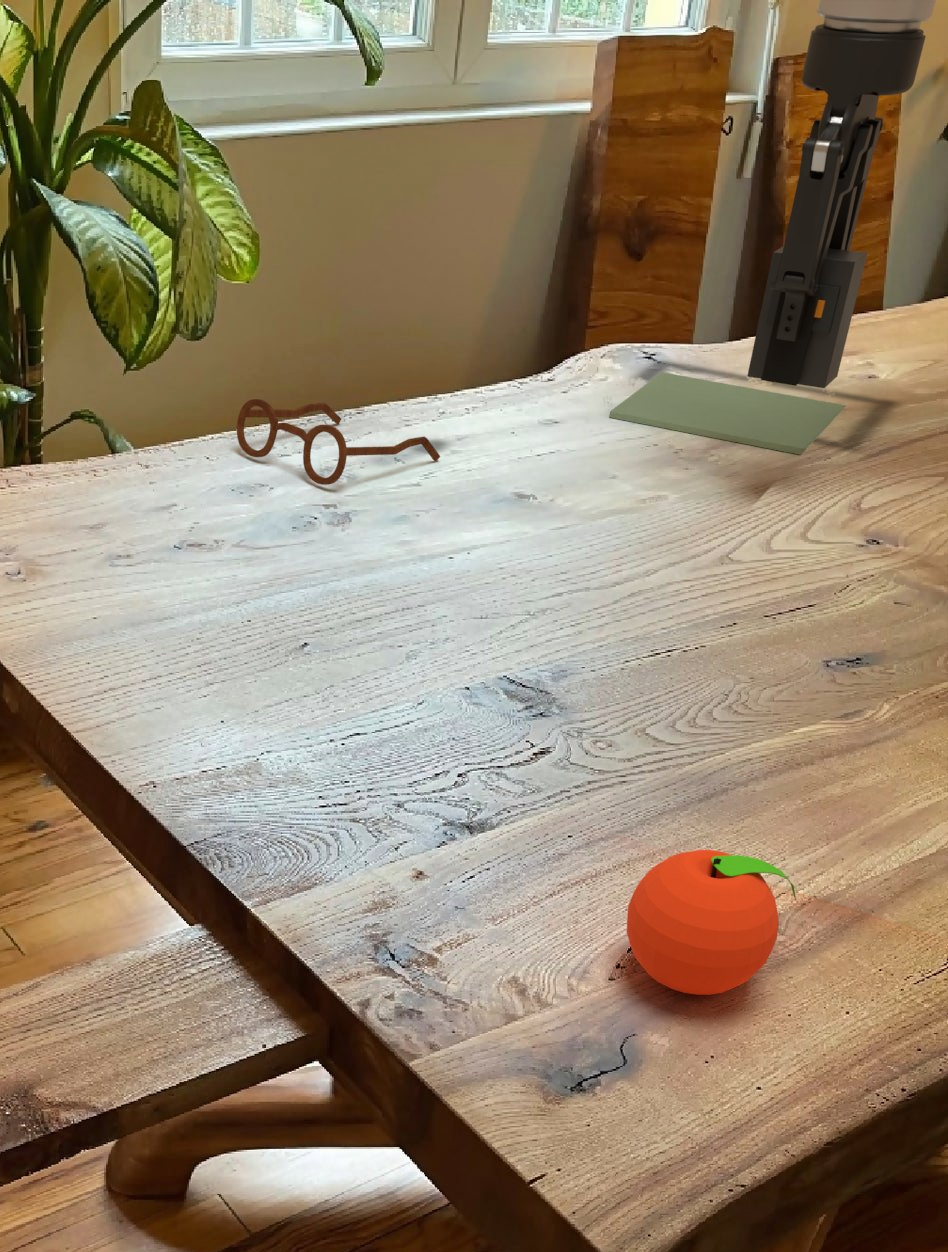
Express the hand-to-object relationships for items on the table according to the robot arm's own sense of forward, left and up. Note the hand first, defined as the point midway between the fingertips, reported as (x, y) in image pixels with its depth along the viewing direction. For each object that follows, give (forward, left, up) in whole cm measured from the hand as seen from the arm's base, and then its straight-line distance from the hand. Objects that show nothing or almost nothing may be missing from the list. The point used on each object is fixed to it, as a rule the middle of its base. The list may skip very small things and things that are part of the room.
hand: (788, 372), depth 116 cm
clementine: (-16, +65, -11) cm, 68 cm away
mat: (+7, -22, -11) cm, 26 cm away
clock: (0, 0, 0) cm, 0 cm away
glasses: (+34, +10, -11) cm, 37 cm away
